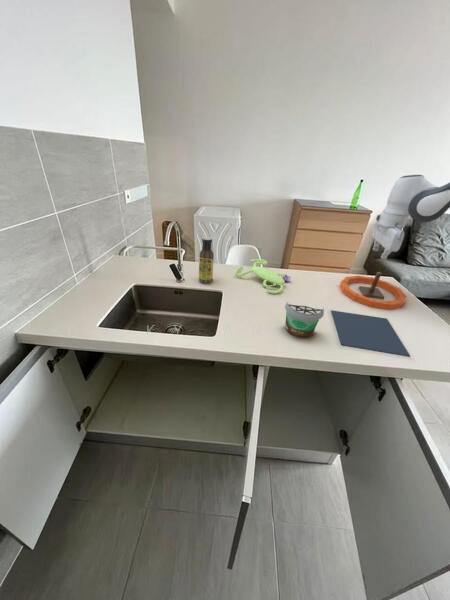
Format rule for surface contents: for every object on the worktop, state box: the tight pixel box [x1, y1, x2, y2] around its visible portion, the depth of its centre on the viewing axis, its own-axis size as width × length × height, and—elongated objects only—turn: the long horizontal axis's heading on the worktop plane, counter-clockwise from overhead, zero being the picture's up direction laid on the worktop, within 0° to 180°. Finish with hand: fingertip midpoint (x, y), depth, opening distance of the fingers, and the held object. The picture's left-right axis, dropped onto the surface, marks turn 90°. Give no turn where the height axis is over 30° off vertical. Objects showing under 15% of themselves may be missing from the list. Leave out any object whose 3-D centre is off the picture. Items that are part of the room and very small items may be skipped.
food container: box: [284, 301, 325, 339], centre depth 78 cm, size 12×6×10 cm, turn 76°
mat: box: [330, 309, 411, 357], centre depth 84 cm, size 20×20×1 cm
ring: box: [339, 275, 407, 311], centre depth 107 cm, size 25×25×3 cm
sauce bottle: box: [198, 236, 215, 284], centre depth 105 cm, size 6×6×20 cm
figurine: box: [234, 258, 291, 295], centre depth 113 cm, size 18×27×6 cm
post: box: [358, 271, 385, 300], centre depth 105 cm, size 8×8×10 cm
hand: (378, 254), depth 102 cm, fingers open, 8 cm apart
